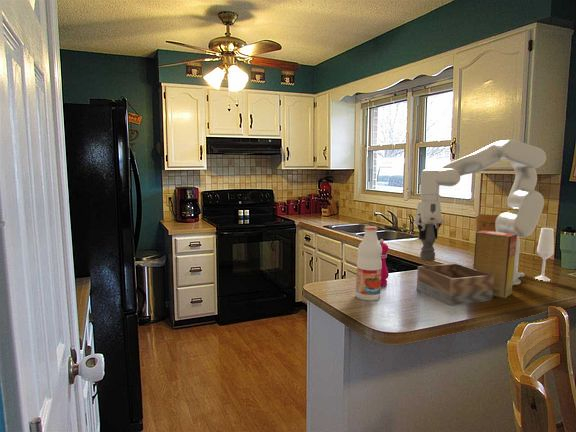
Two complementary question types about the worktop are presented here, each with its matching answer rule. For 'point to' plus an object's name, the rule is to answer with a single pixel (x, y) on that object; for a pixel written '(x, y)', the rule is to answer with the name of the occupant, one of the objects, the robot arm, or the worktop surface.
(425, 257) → the candle holder
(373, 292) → the fruit juice
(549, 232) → the champagne flute
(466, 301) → the open box
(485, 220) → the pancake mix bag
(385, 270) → the pepper mill
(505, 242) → the food packaging
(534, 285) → the worktop surface
